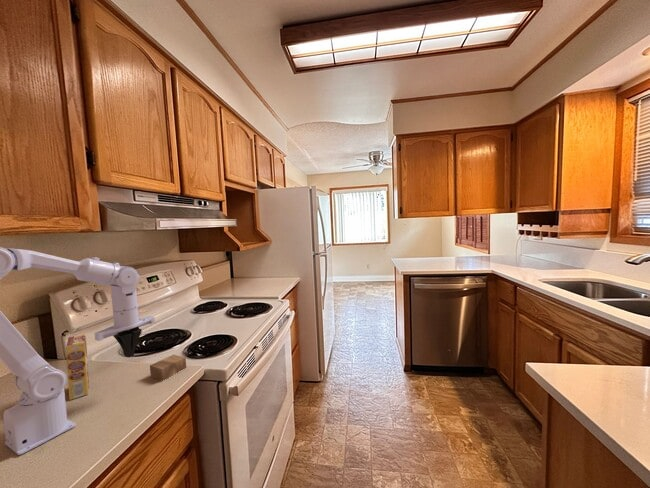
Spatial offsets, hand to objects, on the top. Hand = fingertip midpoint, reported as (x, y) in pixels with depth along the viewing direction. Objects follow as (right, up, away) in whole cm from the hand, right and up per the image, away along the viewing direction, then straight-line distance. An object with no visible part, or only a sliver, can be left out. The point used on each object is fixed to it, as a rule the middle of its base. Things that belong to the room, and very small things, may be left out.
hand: (129, 355), depth 79 cm
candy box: (-16, -11, +2) cm, 19 cm away
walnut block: (+4, -8, +7) cm, 11 cm away
